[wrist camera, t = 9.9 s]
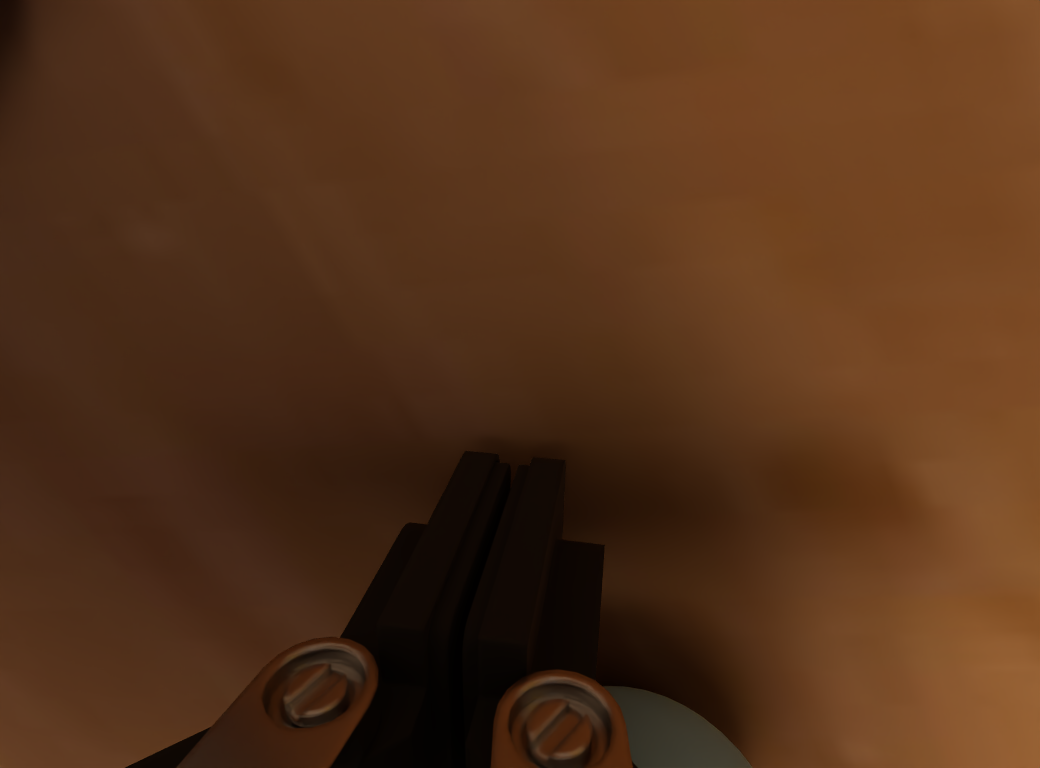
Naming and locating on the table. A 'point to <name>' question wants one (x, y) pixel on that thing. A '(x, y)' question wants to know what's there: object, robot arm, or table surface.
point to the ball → (672, 733)
